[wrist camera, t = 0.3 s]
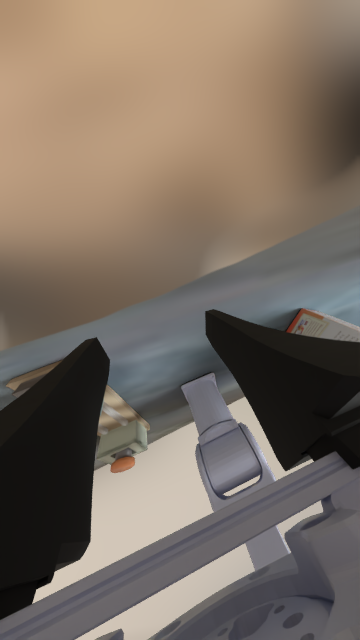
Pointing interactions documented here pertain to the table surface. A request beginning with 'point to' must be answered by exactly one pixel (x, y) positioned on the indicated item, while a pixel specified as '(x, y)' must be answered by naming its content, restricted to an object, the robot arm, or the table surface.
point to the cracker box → (323, 326)
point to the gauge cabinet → (122, 441)
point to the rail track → (112, 410)
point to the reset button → (123, 461)
